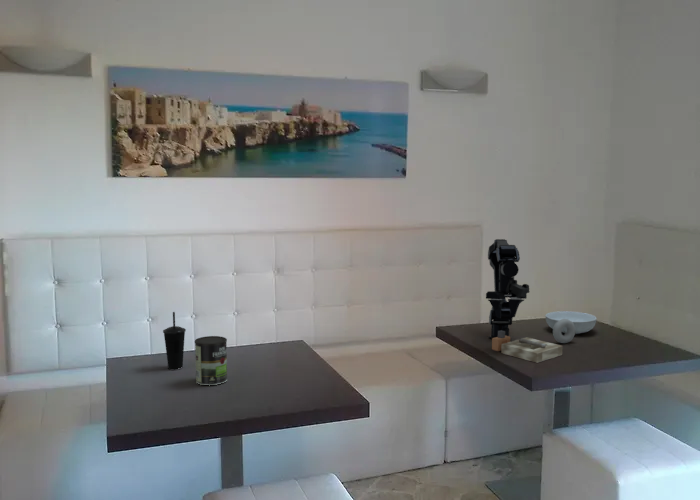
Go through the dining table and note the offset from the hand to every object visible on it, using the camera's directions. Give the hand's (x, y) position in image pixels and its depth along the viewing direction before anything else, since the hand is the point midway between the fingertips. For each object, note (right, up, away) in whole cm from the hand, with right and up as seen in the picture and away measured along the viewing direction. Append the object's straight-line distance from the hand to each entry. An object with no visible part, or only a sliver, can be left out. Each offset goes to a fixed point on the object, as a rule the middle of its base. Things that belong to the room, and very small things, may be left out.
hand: (506, 317), depth 254 cm
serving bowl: (+35, -9, +30) cm, 47 cm away
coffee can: (-106, -18, -37) cm, 113 cm away
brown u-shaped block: (-1, -12, +3) cm, 13 cm away
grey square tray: (+9, -13, -4) cm, 17 cm away
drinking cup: (-122, -16, -22) cm, 125 cm away
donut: (+26, -12, +11) cm, 30 cm away
